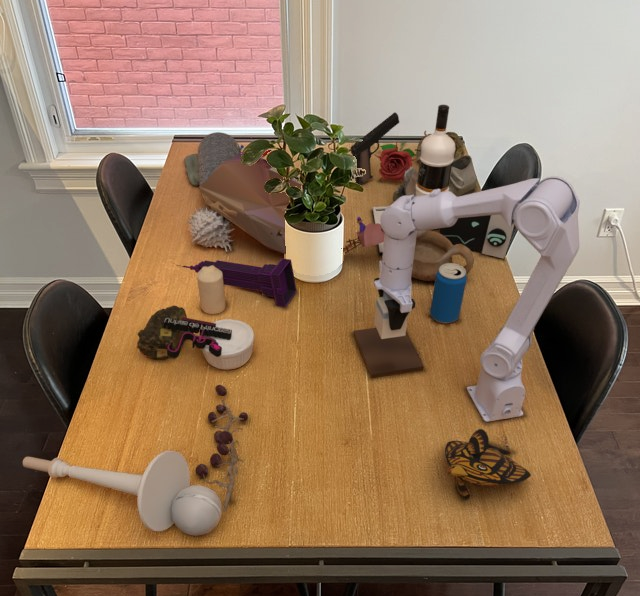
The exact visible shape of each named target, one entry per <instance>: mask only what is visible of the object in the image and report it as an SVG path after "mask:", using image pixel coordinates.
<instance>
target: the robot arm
mask: <svg viewBox="0 0 640 596" xmlns="http://www.w3.org/2000/svg"><path fill="white" fill-rule="evenodd" d="M537 183H538V184H537ZM580 204H581V201H580V199H579V196H578V195H577V193H576V190H575V189H574V187H573V186H572V184H571V183H570V182H569V181H568V180H567V179H565V178H564V177H562V176H556V175H552V176H547V177H545V178H542V179H540V177H539V178H537V177H536V178H529V179H525V180H522V181H519V182H515V183H511V184H507V185H503V186H498V187H495V188H489V189H485V190H482V191H481V190H480V191H476V192H471V193H469V194H466V195H463V196H459V197H457V196H455V195H454V194H453V193H452V192H450V191H445V192H441V191H440V189H435V190H433V191H432V192H431V193H430V194H429V195H423V196H418V197H415V196H414V195H409V196H407V195H406V196H401V197H400V198H398V199H397V200H396V201H395V202H394V201H393V202H392V203H391V204H389V205H388V206H389V207H388V208H386V209H385V211H384V212H383V213H382V215H381V218H380V224H381V227H382V229H383V231H384V232H385V236H384V246H383V256H382V258H381V260H379V262H378V270H379V272H380V273H379V277H376V278H374V279H373V285H374V288H375V289H376V290H377V293H378V297H383V292H384V291H385V292H386V293H387V294H388V295H390V296H391V297H392V298H393V299H392V300H385V301H384V302H385V304H386V307H387V309H388V314H389V326H390V329H391V330H399V329H401V327H402V325H403V323H404V321H405V319H406V317H407V315H408V316H409V314H410V313H412V310H414V309H415V308H416V301H415V299H414V298H412V285H413V284H412V283H413V282H412V277H411V276H412V268H413V260H414V252H415V245H416V236H417V231H424V230H430V229H433V230H438V229H439V228H444V227H451V226H453V225H454V224H455V223H456V221H457V220H458V218H465V217H476V216H487V215H498V214H499V215H501V216H502V218H503V219H504V220H505V222H506V223H507V224H508V225H509V226H512V225H513V224H514V223H515V224H514V227H515V228H516V230H517V231H518V232H519V234H520V235H521V236H522V237H523V238H524V239H525V240H526V241H527V242H528V244H530V245H531V246H532V247H533V248H534V250H536V252H538V254H540V258H539V260H538V261H537V263H536V264H535V265H536V266H535V267H534V269H533V271H532V273H531V274H530V276H529V278H528V281H527V282H526V284H525V286H524V288H523V289H522V291H521V293H520V295H519V298H518V299H517V301H516V302H515V305H514V307H513V308H512V311H511V312H510V314H509V316H508V318H507V320H506V322H505V324H504V325H503V326H502V327H501V328H500V329H499V331H498V333H497V334H496V336H495V337H494V339H492V341H491V342H490V344H489V345H488V346H487V348H486V349H485V350H483V352H482V353H481V354H480V358H479V364H480V366H481V367H480V371H479V373H478V380H477V383H476V385H472V386H471V385H470V386H467V387H466V391H467V393H468V394H469V397H470V398H471V400H472V402H473V404H474V406H475V408H476V409H477V411H478V413H479V415H480V416H481V418H482V420H483V421H484V422H487V423H489V422H494V421H500V420H506V419H512V418H518V417H523V416H524V411H523V409H522V408H523V404H524V401H525V398H526V395H527V392H526V388H525V386H524V384H523V381H522V370H523V368H524V367H523V357H524V355H525V354H526V353H527V351H528V350H529V349H530V348H531V346H532V335H533V332H534V331H535V327H536V326H537V324H538V322H539V320H540V319H541V316H542V315H543V313H544V312H545V309H546V308H547V306H548V304H549V303H550V301H551V300H552V297H553V296H554V294H555V292H556V290H557V289H558V287H559V285H560V283H562V280H563V278H564V277H565V275H566V274H567V272H568V270H569V268H570V267H571V265H572V263H573V261H574V259H575V257H576V256H577V254H578V252H579V250H580V232H579V231H580V229H579V210H580Z"/></svg>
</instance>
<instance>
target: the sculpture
mask: <svg viewBox="0 0 640 596" xmlns="http://www.w3.org/2000/svg"><path fill="white" fill-rule="evenodd" d="M241 155H242V154H240V155H238V156H236V157H234V158H232V159H230V160H228V161H226V162H224V163H222V164H220V165H219V166H218V168H217V169H216V170H215V171H214V172H213V173H212V174H211V175H210V177H209V178H208V179H207V180H206V181H205V182H204V183H203V184H202V185H201V187H200V186H199V191H200V193H202V194H201V196H202V195H203V196H202V198H203V200H204V203H205V205H206V206H207V207H208V206H209V207H210V209H211V208H212V209H214V210H215V211H217V212H218V213H220V214H221V215H222V216H224V218H227V219H228V222H229V221H231V222H230V223H233V224H234V225H235V226H236V227H238V228H239V229H240V230H242V231H243V232H245V233H247V234H248V235H249V236H251V237H252V238H254V239H255V240H256V241H258V242H259V243H260V244H261V245H263V246H264V247H265V248H266V249H267V250H268V251H269V250H270V251H273V252H277V253H280V254H283V255H286V246H285V219H284V215H285V211H282V209H284V208H286V207H287V206H288V205H289V197H288V196H287V195H286V193H285V192H282V193H276V194H269V193H267V192H265V190H264V184H265V182H266V181H268V180H269V179H272V178H278V179H281V180H282V181H283V180H284V179H283V177H282V176H281V175H279V173H278V172H277V170H276V169H275V168H273V167H271V166H270V165H269V164H268V163H267V161H268V160H267V159H266V158H262V157H261V158H260V159H259V160H258V161H257V162H256V163H255V164H253V165H251V166H245V165H243V164H242V163H241ZM266 160H267V161H266ZM289 183H290V186H297V187H298V188H300V189H301V184H300V182H297V181H296V180H295V178H290V180H289Z"/></svg>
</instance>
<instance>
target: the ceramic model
mask: <svg viewBox="0 0 640 596" xmlns="http://www.w3.org/2000/svg"><path fill="white" fill-rule="evenodd" d="M431 134H432V133H428V134H427V135H431ZM446 135H448V136H449V137H450V138H451V139H453V141H454V143H455V148H456V149H455V153H454V160H456V159H458V158H460V157H462V156H465V155H466V149H465V147H464V143H463V140H462V138H460V136H459V135H458V133H456V132H455V131H446ZM423 137H427V136H425V135H424V136H423ZM421 140H423V139H422V138H420V140H419V143H418V144H417V146H416V149H418V150H421V144H422V143H421ZM415 152H416V153H415V157H416V161H418V160H420V155H421V152H420V151H415ZM454 160H453V161H454ZM418 163H420V161H419V162H418Z"/></svg>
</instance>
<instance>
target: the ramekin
mask: <svg viewBox="0 0 640 596" xmlns="http://www.w3.org/2000/svg"><path fill="white" fill-rule="evenodd" d="M212 323H216V327H218V328H223V329H230V330H232V336H231V339H230V340H227V339H223V338H218V337H214V336H208V338H213V339H215V340H216V342H218V345H219V346H221V347H222V353H221V355H220V356H219V357H216V356H214V355H213V354H211V353H210V352H209V345H206V346H205V348H203V349H201V351H202V353H203V356H204V358H205V360H206V362H207V364H209V365H211V366H212V367H214V368H216V369H218V370H223V371H226V370H235V369H238V368H241V367H242V366H244V365H246V364H247V362H248V361H249V360H250V358H251V357H252V354H253V347H254V346H253V345H254V342H255V332H254V330H253V328H252V327H251V326H250V325H249V324H248V323H247V322H244V321H242V320H239V319H231V318H223V319H219V320H215V321H212ZM198 336H200V333H198ZM204 337H207V336H206V335H204Z"/></svg>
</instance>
